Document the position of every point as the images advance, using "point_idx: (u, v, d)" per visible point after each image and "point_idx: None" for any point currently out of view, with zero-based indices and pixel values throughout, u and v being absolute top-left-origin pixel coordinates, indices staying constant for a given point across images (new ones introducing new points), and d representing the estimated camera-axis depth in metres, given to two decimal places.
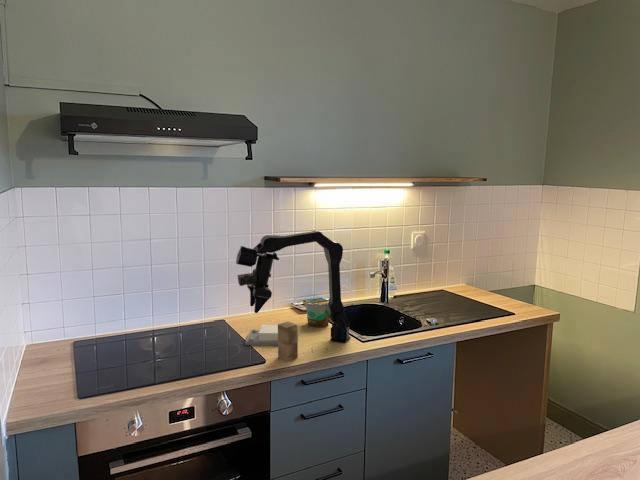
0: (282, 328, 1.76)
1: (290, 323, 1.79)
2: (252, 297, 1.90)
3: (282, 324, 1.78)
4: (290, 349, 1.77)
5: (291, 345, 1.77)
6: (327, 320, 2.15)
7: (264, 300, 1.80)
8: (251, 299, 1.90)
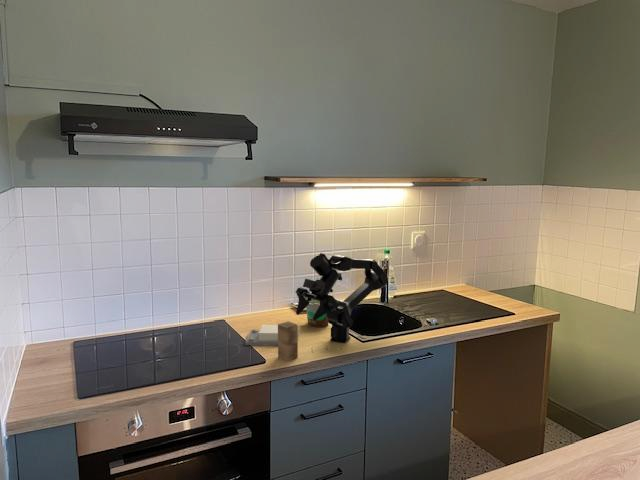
0: (282, 328, 1.76)
1: (290, 323, 1.79)
2: (300, 306, 1.88)
3: (282, 324, 1.78)
4: (290, 349, 1.77)
5: (291, 345, 1.77)
6: (327, 320, 2.15)
7: (326, 310, 1.82)
8: (299, 307, 1.87)
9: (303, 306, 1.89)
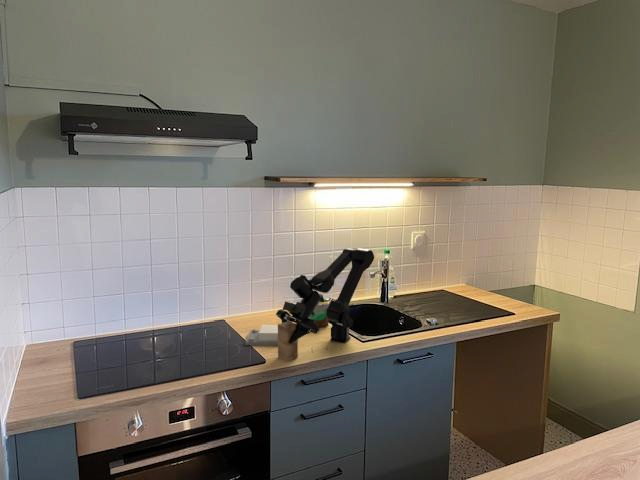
0: (282, 328, 1.76)
1: (290, 323, 1.79)
2: None
3: (282, 324, 1.78)
4: (290, 349, 1.77)
5: (291, 345, 1.77)
6: (327, 320, 2.15)
7: (303, 333, 1.78)
8: None
9: None
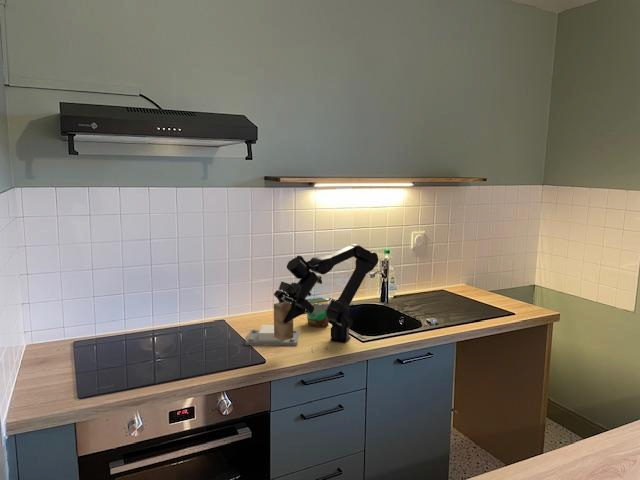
0: (278, 308, 1.77)
1: (286, 303, 1.80)
2: None
3: (278, 304, 1.79)
4: (285, 328, 1.78)
5: (286, 325, 1.78)
6: (327, 320, 2.15)
7: (298, 313, 1.78)
8: None
9: None
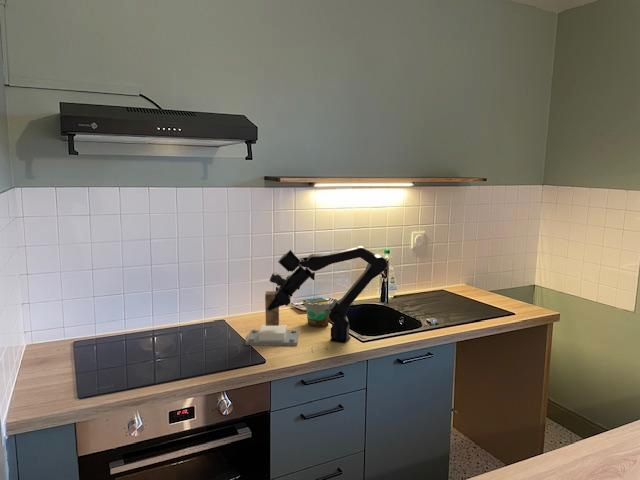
0: None
1: None
2: None
3: (268, 292, 1.96)
4: (269, 315, 1.93)
5: (271, 312, 1.93)
6: (327, 320, 2.15)
7: (281, 303, 1.91)
8: None
9: None
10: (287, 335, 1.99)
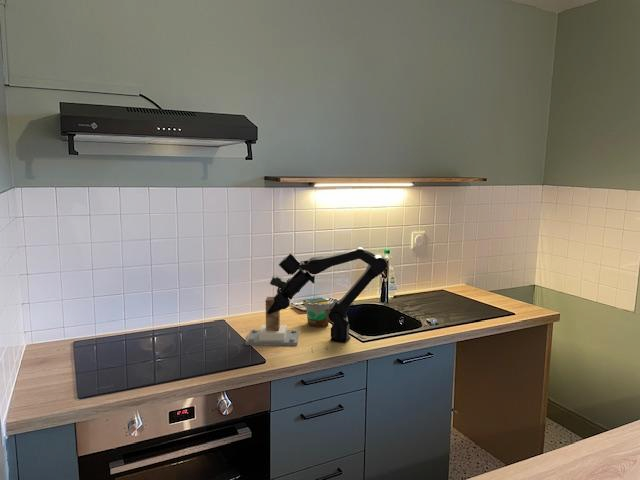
0: (266, 300, 1.96)
1: None
2: None
3: (269, 297, 1.98)
4: (269, 320, 1.95)
5: (271, 317, 1.95)
6: (327, 320, 2.15)
7: (280, 307, 1.90)
8: None
9: None
10: (287, 335, 1.99)
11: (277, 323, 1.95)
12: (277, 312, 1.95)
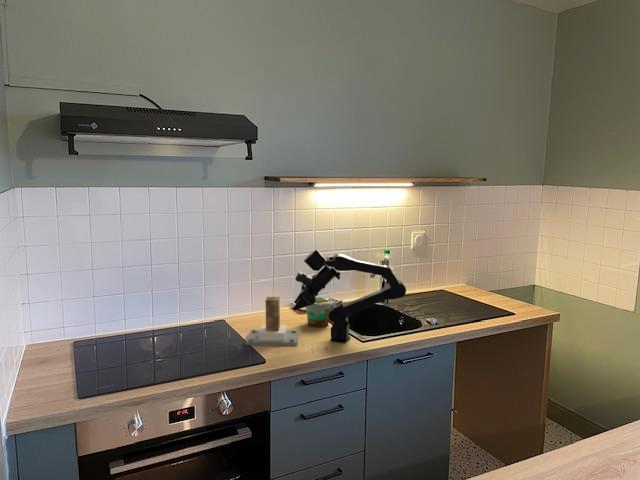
0: (266, 300, 1.96)
1: (276, 298, 1.96)
2: (300, 296, 2.01)
3: (269, 297, 1.98)
4: (269, 320, 1.95)
5: (271, 317, 1.95)
6: (327, 320, 2.15)
7: (306, 304, 1.90)
8: (298, 297, 2.01)
9: None
10: (287, 335, 1.99)
11: (277, 323, 1.95)
12: (277, 312, 1.95)
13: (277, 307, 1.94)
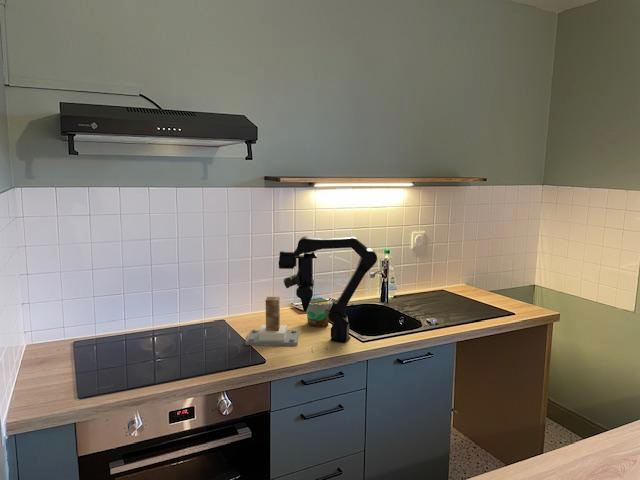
0: (266, 300, 1.96)
1: (276, 298, 1.96)
2: None
3: (269, 297, 1.98)
4: (269, 320, 1.95)
5: (271, 317, 1.95)
6: (327, 320, 2.15)
7: (309, 298, 1.90)
8: None
9: None
10: (287, 335, 1.99)
11: (277, 323, 1.95)
12: (277, 312, 1.95)
13: (277, 307, 1.94)
